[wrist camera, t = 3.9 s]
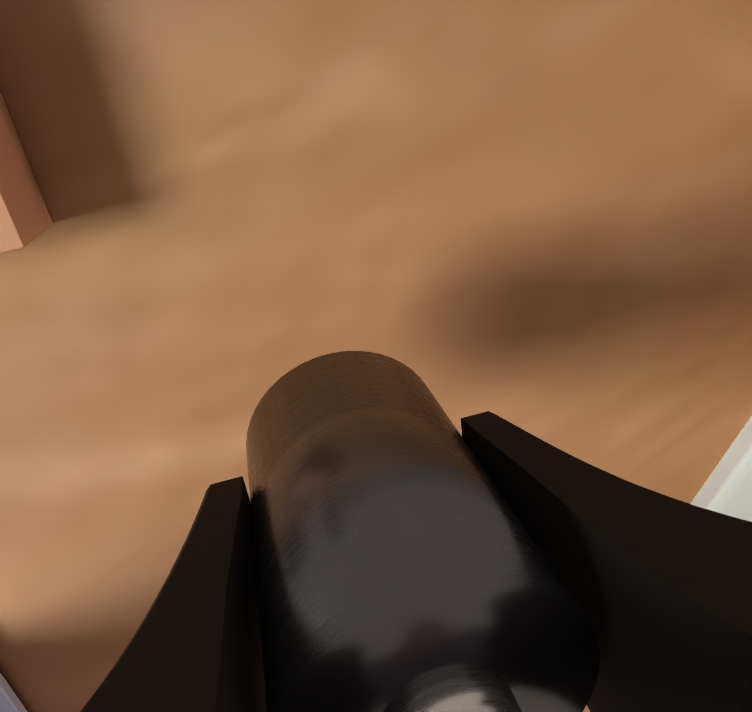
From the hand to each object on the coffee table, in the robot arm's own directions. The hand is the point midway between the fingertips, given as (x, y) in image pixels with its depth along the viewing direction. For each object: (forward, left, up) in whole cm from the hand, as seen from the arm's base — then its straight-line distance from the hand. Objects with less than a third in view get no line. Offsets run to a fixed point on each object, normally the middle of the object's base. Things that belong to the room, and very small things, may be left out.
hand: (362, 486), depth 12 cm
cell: (0, 0, -2) cm, 2 cm away
